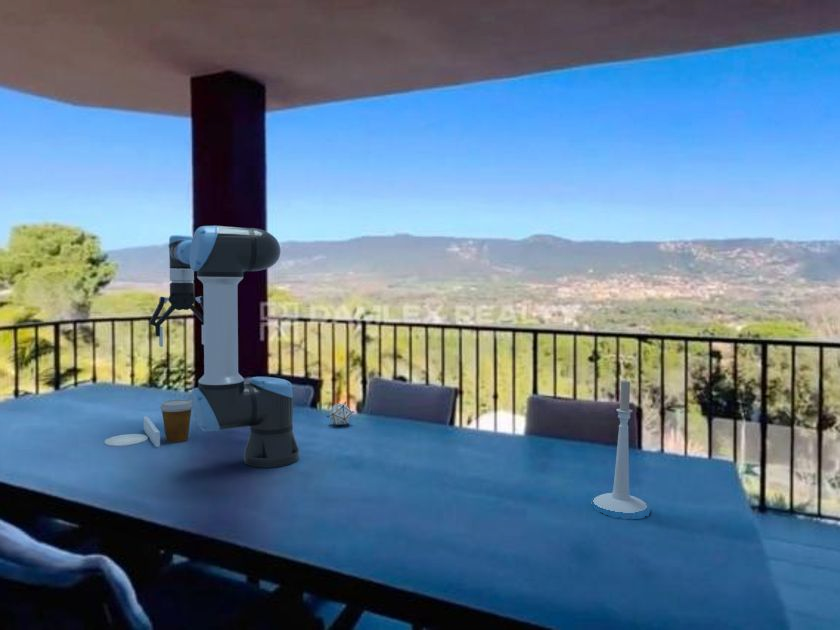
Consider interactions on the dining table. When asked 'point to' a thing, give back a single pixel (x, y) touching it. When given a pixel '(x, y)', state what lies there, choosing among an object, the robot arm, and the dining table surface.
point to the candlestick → (621, 465)
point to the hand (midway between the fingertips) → (182, 345)
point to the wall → (152, 432)
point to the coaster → (126, 440)
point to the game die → (340, 414)
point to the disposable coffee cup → (176, 419)
